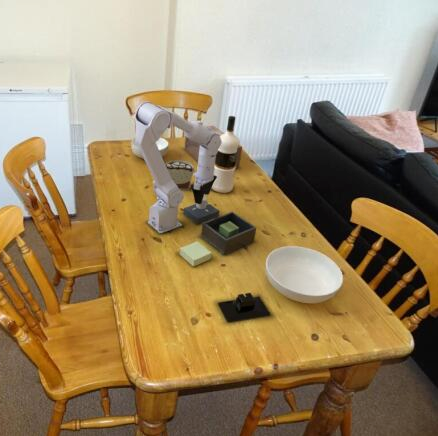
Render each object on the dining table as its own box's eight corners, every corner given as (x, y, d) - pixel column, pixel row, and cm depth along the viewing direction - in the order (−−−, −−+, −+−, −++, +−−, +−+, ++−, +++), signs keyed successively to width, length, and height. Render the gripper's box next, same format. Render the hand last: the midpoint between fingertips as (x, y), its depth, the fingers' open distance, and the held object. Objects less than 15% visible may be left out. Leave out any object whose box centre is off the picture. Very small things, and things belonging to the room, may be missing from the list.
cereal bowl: (147, 168, 178) (148, 153, 175) (123, 155, 188) (123, 141, 185) (175, 157, 188) (176, 143, 184) (150, 146, 198) (151, 132, 194)
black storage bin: (223, 255, 130) (226, 240, 127) (200, 236, 138) (202, 222, 135) (253, 241, 137) (256, 227, 133) (229, 225, 144) (232, 211, 141)
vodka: (213, 180, 171) (222, 110, 154) (235, 185, 168) (247, 114, 151) (207, 190, 164) (216, 118, 147) (230, 196, 161) (242, 122, 144)
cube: (227, 243, 134) (229, 232, 132) (218, 236, 137) (219, 225, 135) (237, 238, 136) (239, 227, 134) (227, 232, 139) (229, 221, 137)
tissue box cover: (238, 167, 182) (242, 146, 176) (209, 172, 177) (212, 151, 172) (211, 145, 202) (213, 125, 196) (184, 148, 197) (186, 128, 192)
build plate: (258, 297, 115) (262, 285, 113) (271, 316, 109) (274, 304, 107) (217, 303, 112) (219, 291, 110) (227, 323, 107) (230, 311, 104)
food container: (192, 182, 169) (195, 160, 163) (192, 190, 164) (195, 167, 158) (162, 180, 170) (164, 158, 164) (161, 187, 165) (163, 165, 159)
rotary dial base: (197, 224, 144) (197, 218, 142) (180, 211, 150) (181, 205, 149) (218, 216, 149) (219, 210, 147) (201, 204, 155) (202, 198, 154)
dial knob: (207, 208, 148) (208, 199, 146) (198, 209, 147) (199, 200, 145) (203, 203, 151) (204, 194, 149) (194, 204, 150) (195, 195, 148)
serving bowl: (247, 271, 124) (251, 253, 120) (304, 257, 130) (310, 240, 126) (290, 321, 108) (296, 302, 104) (352, 302, 114) (360, 284, 110)
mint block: (193, 266, 125) (194, 260, 124) (179, 254, 130) (180, 248, 128) (210, 259, 128) (211, 252, 127) (196, 247, 133) (197, 241, 132)
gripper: (203, 154, 147) (199, 187, 154) (186, 169, 136) (183, 204, 143) (221, 158, 144) (217, 192, 151) (206, 175, 133) (202, 210, 141)
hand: (202, 198), depth 147 cm, fingers open, 7 cm apart
